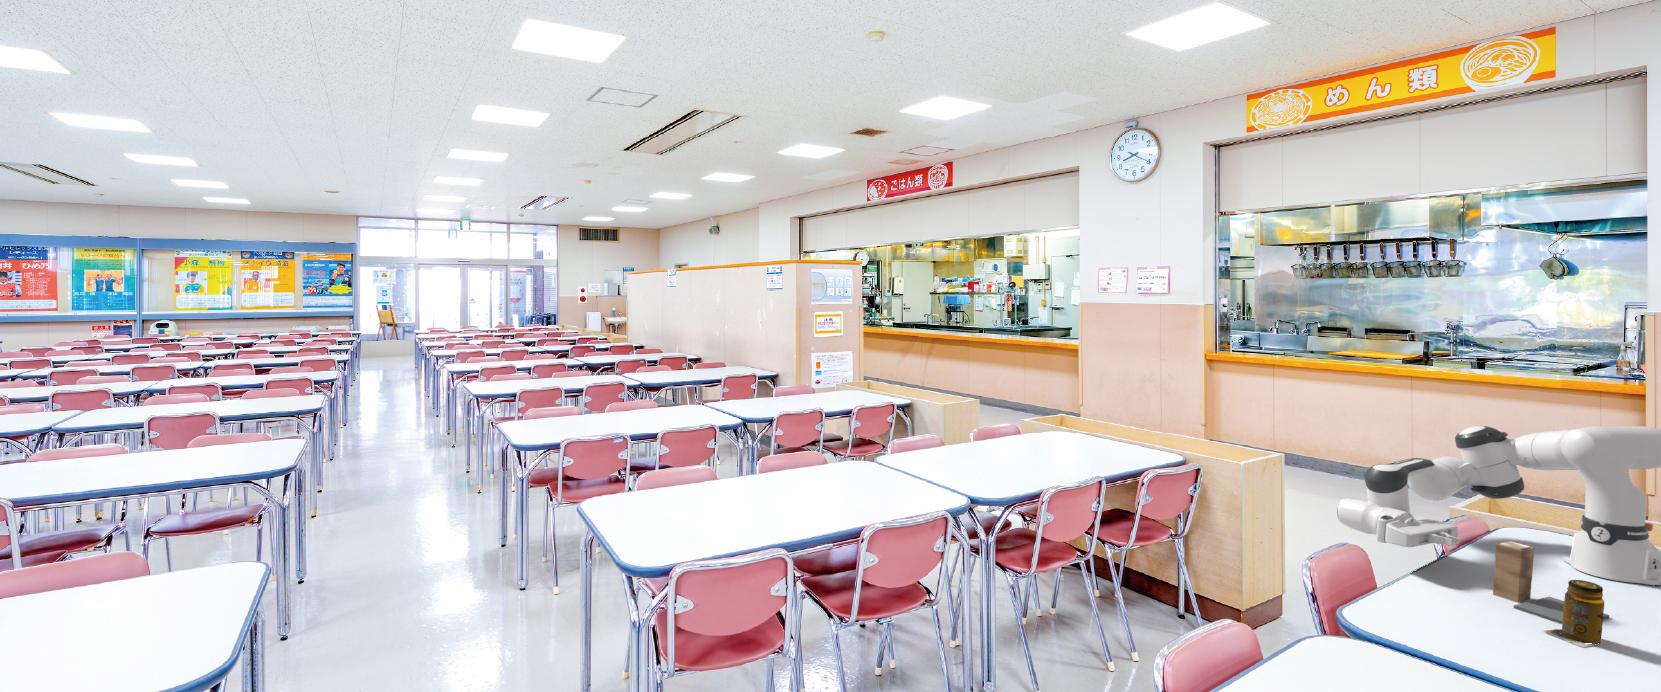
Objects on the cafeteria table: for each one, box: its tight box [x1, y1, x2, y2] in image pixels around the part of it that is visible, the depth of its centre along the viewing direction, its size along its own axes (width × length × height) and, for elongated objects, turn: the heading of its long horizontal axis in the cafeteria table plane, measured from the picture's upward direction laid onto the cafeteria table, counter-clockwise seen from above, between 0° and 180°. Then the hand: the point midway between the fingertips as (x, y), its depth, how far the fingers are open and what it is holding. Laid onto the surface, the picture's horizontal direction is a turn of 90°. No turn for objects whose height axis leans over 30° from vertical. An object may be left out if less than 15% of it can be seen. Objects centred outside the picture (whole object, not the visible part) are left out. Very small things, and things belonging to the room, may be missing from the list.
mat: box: [1513, 596, 1610, 625], centre depth 174 cm, size 14×11×1 cm
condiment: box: [1543, 579, 1613, 648], centre depth 162 cm, size 7×8×12 cm
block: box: [1492, 540, 1535, 604], centre depth 183 cm, size 5×5×13 cm
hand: (1455, 542), depth 194 cm, fingers closed
